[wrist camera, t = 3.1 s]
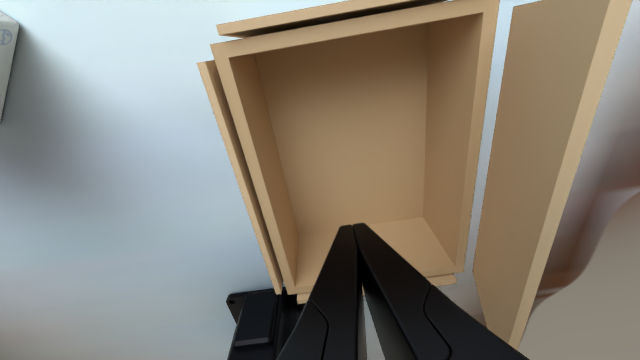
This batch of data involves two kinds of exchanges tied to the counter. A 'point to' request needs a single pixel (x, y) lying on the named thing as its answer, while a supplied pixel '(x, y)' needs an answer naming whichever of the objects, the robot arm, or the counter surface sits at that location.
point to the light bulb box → (6, 52)
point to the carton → (356, 128)
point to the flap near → (539, 146)
